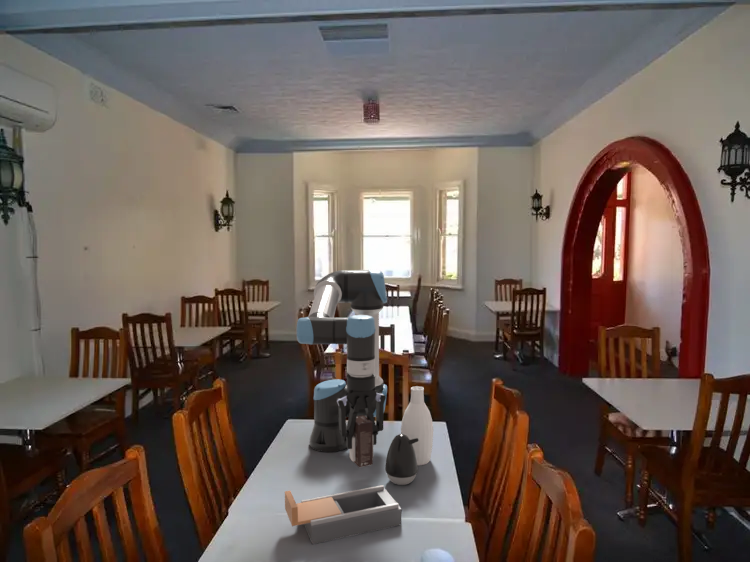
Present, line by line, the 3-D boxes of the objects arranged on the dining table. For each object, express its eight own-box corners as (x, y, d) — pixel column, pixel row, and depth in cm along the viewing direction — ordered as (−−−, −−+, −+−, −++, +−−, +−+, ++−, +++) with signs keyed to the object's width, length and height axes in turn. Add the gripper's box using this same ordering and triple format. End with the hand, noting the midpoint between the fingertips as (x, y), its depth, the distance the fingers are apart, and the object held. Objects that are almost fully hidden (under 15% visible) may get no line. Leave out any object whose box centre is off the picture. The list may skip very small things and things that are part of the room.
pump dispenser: (416, 490, 160) (416, 442, 158) (382, 487, 162) (382, 439, 160) (420, 475, 170) (420, 429, 168) (388, 472, 172) (388, 427, 170)
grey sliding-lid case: (300, 518, 145) (300, 499, 144) (383, 501, 154) (383, 483, 153) (312, 544, 133) (312, 523, 132) (401, 524, 141) (401, 505, 141)
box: (374, 464, 141) (373, 421, 140) (358, 468, 139) (357, 424, 138) (365, 456, 146) (363, 414, 145) (350, 459, 144) (348, 417, 143)
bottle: (424, 470, 173) (424, 395, 171) (394, 462, 179) (394, 389, 177) (438, 457, 183) (439, 386, 180) (410, 450, 189) (410, 381, 186)
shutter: (285, 508, 141) (284, 491, 140) (331, 499, 145) (331, 483, 145) (292, 526, 132) (291, 508, 132) (341, 516, 137) (341, 498, 137)
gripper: (333, 380, 134) (334, 469, 136) (396, 374, 140) (396, 458, 142) (325, 373, 141) (326, 457, 143) (386, 367, 147) (386, 447, 149)
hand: (361, 457), depth 143 cm, fingers closed on box, 4 cm apart
